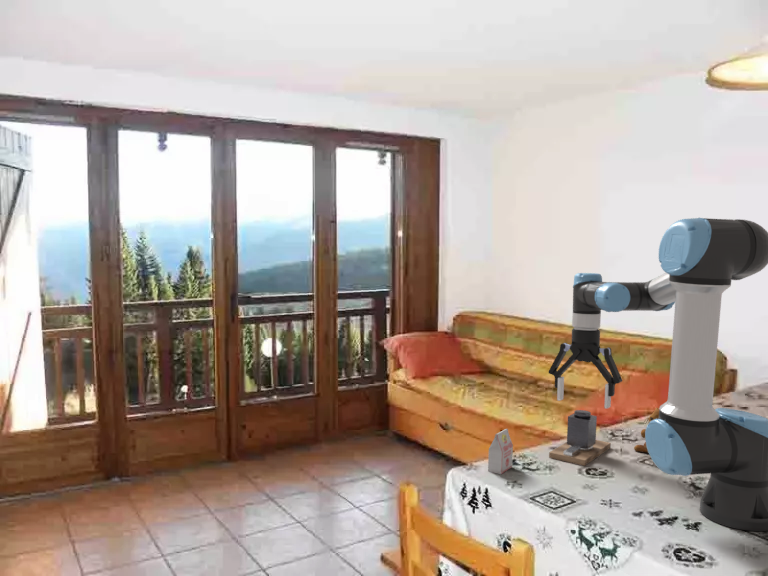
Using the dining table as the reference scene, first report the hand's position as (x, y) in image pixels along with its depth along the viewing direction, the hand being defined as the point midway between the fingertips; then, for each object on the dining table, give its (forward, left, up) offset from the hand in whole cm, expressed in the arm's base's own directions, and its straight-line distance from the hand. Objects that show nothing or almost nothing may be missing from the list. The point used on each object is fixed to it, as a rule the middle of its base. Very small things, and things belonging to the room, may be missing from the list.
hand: (583, 403), depth 183 cm
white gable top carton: (-27, +11, -14) cm, 32 cm away
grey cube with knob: (0, 0, -12) cm, 12 cm away
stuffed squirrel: (+15, -18, -15) cm, 28 cm away
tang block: (0, 0, -14) cm, 14 cm away
